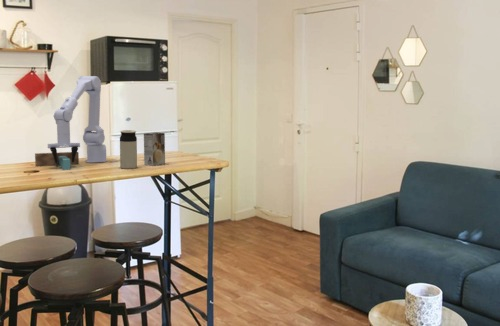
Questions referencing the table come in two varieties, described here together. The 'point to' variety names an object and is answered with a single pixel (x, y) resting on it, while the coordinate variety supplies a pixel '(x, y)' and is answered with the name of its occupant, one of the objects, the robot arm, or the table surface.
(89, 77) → the robot arm
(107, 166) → the table surface
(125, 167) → the travel mug
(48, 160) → the brown wooden bar
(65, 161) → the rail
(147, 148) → the coffee box
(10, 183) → the table surface
